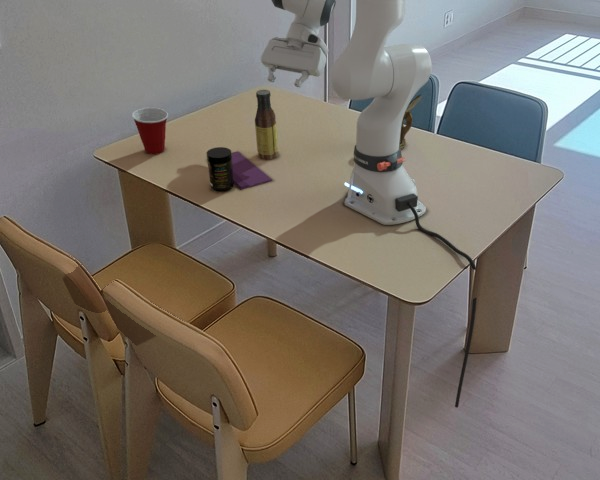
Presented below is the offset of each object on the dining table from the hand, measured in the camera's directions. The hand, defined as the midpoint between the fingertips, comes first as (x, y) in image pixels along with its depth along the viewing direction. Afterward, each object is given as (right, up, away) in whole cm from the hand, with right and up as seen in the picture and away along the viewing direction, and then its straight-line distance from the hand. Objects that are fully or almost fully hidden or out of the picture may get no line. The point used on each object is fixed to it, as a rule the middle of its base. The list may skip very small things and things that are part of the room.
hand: (283, 83), depth 193 cm
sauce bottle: (-5, -20, +5) cm, 22 cm away
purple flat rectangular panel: (-13, -26, -2) cm, 29 cm away
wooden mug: (+35, -17, +8) cm, 39 cm away
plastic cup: (-40, -18, +9) cm, 45 cm away
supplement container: (-17, -33, -10) cm, 38 cm away
